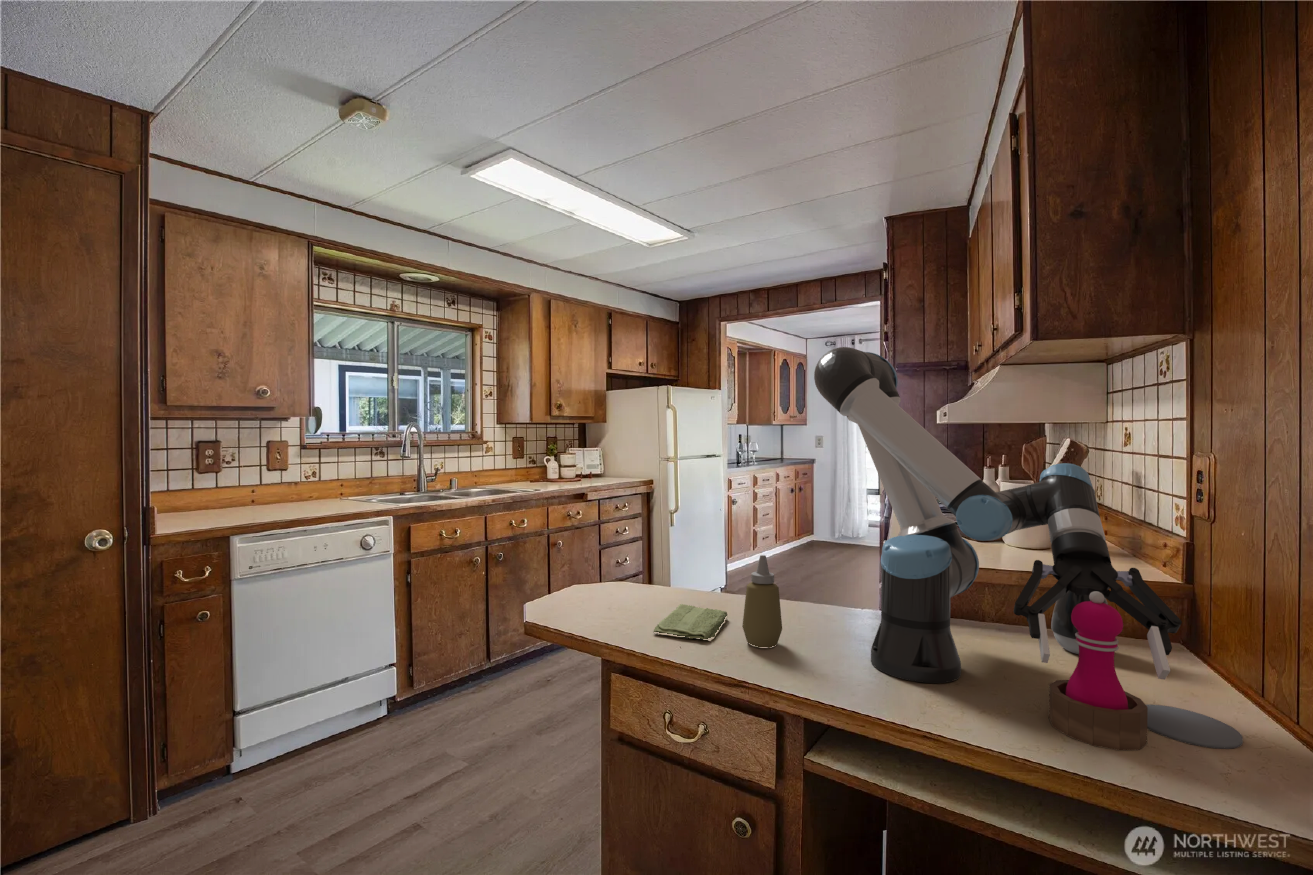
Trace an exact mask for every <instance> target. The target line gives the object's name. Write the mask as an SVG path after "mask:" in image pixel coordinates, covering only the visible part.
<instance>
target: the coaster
mask: <svg viewBox="0 0 1313 875" xmlns="http://www.w3.org/2000/svg"><path fill="white" fill-rule="evenodd" d="M1145 705H1146V706H1147V707H1148V714H1147V730H1149V731H1150V732H1153V733H1156V734H1157V735H1161V736H1163V737H1166V738H1168V739H1171V740H1173V741H1178V742H1180V743H1184V744H1189V745H1193V746H1197V747H1202V748H1209V749H1219V750H1220V749H1221V750H1229V749H1231V750H1232V749H1237V748H1239V747H1241V746H1242V745H1243V743H1244V741H1243V735H1242V734H1241V732H1240V731H1238V730H1237V729H1236V728H1234V727H1232V726H1230V725H1229V724H1227V723H1226V722H1223V721H1222V720H1218V719H1216V718H1213V717H1211V716H1208V715H1205V714H1202V713H1200V712H1195V711H1192V710H1188V709H1184V708H1179V707H1176V706H1175V707H1174V706H1169V705H1168V706H1167V705H1161V704H1145Z"/></svg>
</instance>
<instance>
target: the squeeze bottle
mask: <svg viewBox="0 0 1313 875" xmlns="http://www.w3.org/2000/svg"><path fill="white" fill-rule="evenodd" d="M750 574H751V575H750V576H751V578H750V581H751V582H749V583H748V584H746V591H745V596H744V597H745V599H744V607H743V619H742V630H743V633H744V636H745V639H746V640H745V641H746V642H748V643H750V644H752V645H755V646H758V647H772V646H775V645H776V644H777V645H778V643H779V640H780V637H781V634H782V631H783V624H782V622H783V621H782V612H781V601H780V589H779V588H780V587H779V586H778V585H777V584H776V583H775V574H774V573H773V572H770V569H769V565H768V560H767V555H764V554H763V555H762V554H761V555H759V558H758V563H757V568H756V570H755V571H753V572H750ZM748 643H747V644H748ZM775 647H776V646H775Z"/></svg>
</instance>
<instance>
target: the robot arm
mask: <svg viewBox="0 0 1313 875" xmlns="http://www.w3.org/2000/svg"><path fill="white" fill-rule="evenodd" d="M813 374H814V375H813V376H814V377H813V381H814V383H815V387H816V389H817V391H818V392H819V394H820V396H822V397H823V398H824V399H825V400H826V402H828V404H830V405H831V406H832V407H833V408H834V409H835V410H836V411H837V412H838V413H839V414H840V415H842V416H843V417H847V420H848V421H850V422H852V423H855V424H857V425H858V428H859V431H860V433H861V435H862V436H861V437H862V438H863V440H864V442H865V445H866V447H867V449H868V450H867V451H868V453H869V455H870V456H871V460H872V463H873V464H874V467H875V469H876V471H877V474H878V477H879V480H880V481H881V484H882V487H883V489H884V491H885V493H886V496H887V498H888V501H889V504H890V506H891V508H892V510H893V513H894V515H895V517H896V520H897V522H898V525H899V528H900V530H899V533H898V535H897V536H892V537H891V538H888V539H887V540H885V542H884V543H883V545H882V548H881V554H880V555H881V557H880V565H881V568H880V569H881V571H880V572H881V574H880V578H881V579H880V582H881V583H880V586H881V587H880V591H881V594H880V597H881V598H880V600H881V601H880V602H881V604H880V609H881V611H880V612H881V613H880V614H881V615H880V623H879V626H878V628H877V631H876V633H875V636H874V639H873V642H872V646H871V648H870V662H871V664H872V666H873V667H874V668H876V669H877V670H879V671H880V672H882V673H885V674H886V675H889V676H891V677H895V678H898V679H901V680H906V681H911V682H917V683H925V684H942V683H943V684H944V683H950V682H953V681H956V680H958V679H959V678H961V675H962V662H961V659H960V655H959V652H958V649H957V646H956V643H955V640H954V637H953V634H952V631H951V598H953V597H954V596H957V595H961V594H962V593H964V592H965V591H967V590H968V589H969V588H970V587H971V586H972V584H974V582H975V580H976V579H977V577H978V574H979V570H980V561H979V557H978V554H977V551H976V550H975V548H974V547H973V545H972V544H971V543H970V542H969V541H968V540H966V539H965V538H963V537H962V535H961V533H960V531H961V532H962V533H963V534H964V535H965V536H967V538H970V539H973V540H975V541H981V542H982V541H983V542H984V541H985V542H987V541H994V540H995V541H996V540H998V539H1000V538H1004V537H1006V535H1008V534H1011V533H1013V532H1015V531H1020V530H1024V529H1029V528H1035V527H1038V526H1046V525H1047V528H1048V533H1049V534H1048V535H1049V542H1050V548H1051V554H1052V559H1053V560H1052V561H1053V565H1051V564H1046V563H1043V561H1042V560H1040V559H1036V560H1034V561H1033V565H1032V570H1031V575H1030V576H1029V578H1028V580H1027V581H1026V583H1025V585H1024V586H1023V588H1022V590H1021V591H1020V593H1019V595H1018V597H1017V599H1016V600H1015V602H1014V607H1013V611H1012V612H1013V614H1014V615H1015V616H1018V617H1019V616H1021V617H1024V618H1026V622H1027V623H1028V629H1029V630H1028V631H1029V636H1030V637H1031V639H1036V640H1037V639H1038V645H1039V653H1040V660H1041V663H1043V664H1044V663H1045V664H1048V663H1049V659H1050V656H1051V651H1050V645H1049V644H1050V643H1049V637H1048V631H1047V623H1046V616H1045V612H1047V611H1048V610H1049V609H1050V608H1051V607H1052V606H1053V605H1054V604H1056V601H1057V600H1058V599H1060V598H1061V597H1063V596H1064V595H1065V594H1067V593H1068V592H1069V591H1070V592H1072V593H1075V595H1090V593H1091V592H1094V591H1098V592H1100V593H1102V594H1103V595H1104V597H1105V598H1106V600H1108V601H1109V602H1111V603H1114V604H1115V605H1116V606H1118V607H1119V608H1120V609H1121V610H1122V611H1124V612H1125V613H1127V614H1128V615H1129V616H1130V617H1132V618H1133V619H1134V620H1136V621H1137V622H1138V623H1139V624H1140V625H1141V626H1143V627H1144V628H1146V629H1147V630H1148V632H1147V634H1146V638H1147V641H1148V646H1149V648H1150V649H1149V650H1150V654H1151V658H1152V661H1153V665H1154V668H1155V671H1156V676H1157V679H1158V680H1166V678H1167V677H1168V676H1169V674H1170V672H1171V668H1170V665H1169V661H1168V658H1167V656H1169V655H1170V654H1171V652H1172V649H1173V646H1172V644H1171V639H1170V635H1169V634H1170V633H1171V634H1176V633H1178V630H1179V629H1180V627H1181V626H1182V620H1181V619H1180V618H1179V616H1178V615H1177V614H1176V613H1175V612H1174V611H1173V610H1172V609H1171V608H1170V607H1169V605H1168V604H1166V603H1165V601H1163V600H1162V598H1161V597H1160V596H1159V595H1158V594H1157V593H1156V592H1155V591H1154V590H1153V589H1152V588H1151V587H1150V586H1149V585H1148V584H1147V583H1146V581H1144V579H1143V577H1142V575H1141V574H1142V573H1141V572H1140V570H1139V569H1138V568H1136V567H1130V568H1129V569H1128V570H1121V571H1120V570H1116V569H1115V568H1114V566H1113V564H1112V560H1111V556H1110V552H1109V547H1108V543H1107V542H1106V536H1105V532H1104V527H1103V524H1102V520H1101V515H1100V510H1099V507H1098V501H1097V498H1096V491H1095V490H1096V489H1094V486H1093V484H1092V480H1091V477H1090V475H1089V473H1088V472H1087V471H1086V470H1085V468H1083V467H1081V466H1079V465H1076V464H1075V463H1069V462H1067V463H1066V462H1064V463H1061V462H1060V463H1055V464H1053V465H1052V464H1051V465H1050V466H1049V467H1047V468H1046V469H1043V471H1042V472H1041V473H1040V475H1039V480H1038V481H1039V482H1033V483H1031V484H1027V485H1024V486H1019V487H1015V488H1009V489H1005V490H999V491H995V490H993V489H992V487H990V486H989V485H988V484H987V483H986V482H984V481H983V480H982V479H981V478H980V477H979V476H978V475H977V474H976V473H975V472H974V471H972V470H971V469H970V468H969V467H968V466H967V465H966V464H965V463H964V462H962V460H961V459H959V458H958V457H957V456H956V455H955V454H954V453H952V451H950V450H949V449H948V448H947V447H946V446H944V444H942V442H940V441H939V440H938V439H937V438H936V437H935V436H933V435H932V434H931V433H930V432H929V431H928V430H927V429H926V428H925V427H923V426H922V425H921V424H920V423H919V422H918V421H916V420H915V418H913V417H912V416H911V415H910V414H909V413H908V412H906V411H905V410H904V409H903V408H902V407H901V406H899V405H900V403H901V401H902V399H901V397H900V393H899V392H898V389H897V387H898V381H899V380H898V373H897V372H896V369H895V368H894V366H893V364H892V363H891V362H890V361H889V360H887V359H886V358H884V357H883V356H882V355H880V354H877V353H874V352H870V351H863V350H859V349H857V348H853V347H850V346H842V347H841V346H839V347H835V348H833V349H831V350H828V351H827V352H826V353H825V354H823V355H822V356H821V357H820V358H819V360H818V362H817V364H816V365H815V369H814V373H813ZM937 500H938V501H939V502H940V503H941V504H942V505H943V506H944V507H945V508H946V509H947V510H949V511H950V513H952V515H953V516H955V520H956V522H955V520H953V519H951V518H950V517H949V518H948V517H947V516H946V515H944V514H943V512H942V510H941V507H940V504H939V503H938V501H937ZM959 530H960V531H959ZM1049 575H1052V576H1053V577H1054V578H1055V579H1056V580H1057V581H1056V582H1055V584H1054V585H1053V586H1051V587H1050V588H1049V589H1048V590H1046V592H1045V593H1044V594H1042V596H1040V597H1039V598H1038V599H1037V600H1036V601H1035V602H1033V603H1032V604H1031V605H1030V606H1029V603H1030V601H1031V599H1032V598H1033V596H1034V594H1035V592H1036V591H1037V590H1038V587H1039V586H1040V584H1041V581H1042V580H1044V579H1046V578H1047V577H1048V576H1049ZM1117 581H1121V582H1122V583H1123V585H1124V586H1125V587H1126V588H1127V587H1128V588H1129V589H1130V591H1131V593H1133V595H1134V596H1135V597H1136V598H1137V599H1138V600H1137V599H1136V598H1135V597H1133V596H1132V595H1131V594H1129V592H1127V591H1126V590H1125V589H1123V586H1122V585H1121V584H1120V583H1118V582H1117Z"/></svg>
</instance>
